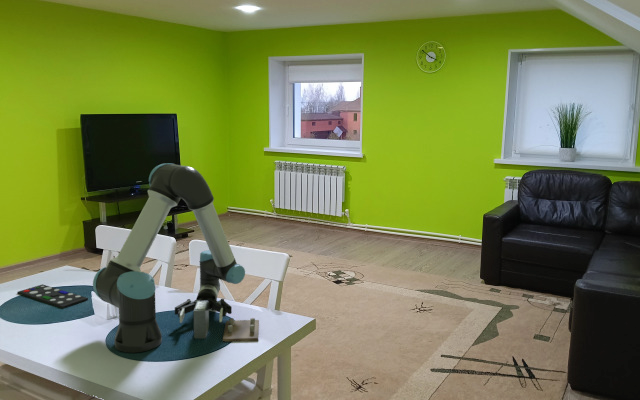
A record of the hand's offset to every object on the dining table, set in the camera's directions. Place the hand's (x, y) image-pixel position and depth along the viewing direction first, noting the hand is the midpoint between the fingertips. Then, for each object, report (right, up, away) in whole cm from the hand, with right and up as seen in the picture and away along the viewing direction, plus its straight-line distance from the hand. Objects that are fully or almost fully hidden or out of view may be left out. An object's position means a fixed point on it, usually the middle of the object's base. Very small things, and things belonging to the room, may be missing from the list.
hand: (200, 318), depth 193 cm
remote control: (-69, +1, +35) cm, 77 cm away
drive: (0, -6, +3) cm, 6 cm away
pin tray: (+14, -6, +5) cm, 15 cm away
